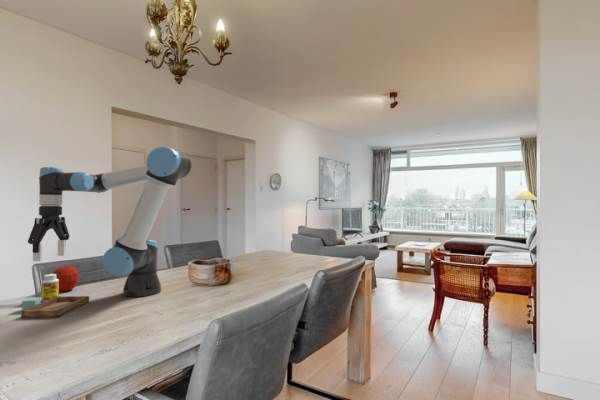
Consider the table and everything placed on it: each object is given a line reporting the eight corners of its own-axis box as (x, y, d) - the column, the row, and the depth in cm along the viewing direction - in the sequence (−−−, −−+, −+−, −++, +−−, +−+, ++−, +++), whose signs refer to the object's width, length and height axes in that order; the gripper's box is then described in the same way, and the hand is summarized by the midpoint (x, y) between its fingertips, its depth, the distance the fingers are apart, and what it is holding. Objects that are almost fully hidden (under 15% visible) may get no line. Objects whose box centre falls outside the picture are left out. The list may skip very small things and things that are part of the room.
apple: (48, 294, 144) (48, 267, 144) (53, 289, 153) (53, 264, 153) (76, 292, 148) (77, 265, 148) (79, 287, 157) (79, 262, 157)
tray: (89, 302, 133) (89, 296, 133) (57, 317, 115) (57, 310, 115) (57, 302, 132) (58, 296, 132) (21, 318, 114) (21, 310, 114)
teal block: (40, 308, 126) (40, 297, 126) (35, 311, 122) (35, 300, 122) (27, 309, 124) (27, 298, 125) (21, 312, 121) (22, 301, 121)
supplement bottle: (40, 303, 132) (40, 276, 132) (41, 299, 136) (42, 274, 136) (58, 300, 135) (58, 275, 135) (58, 297, 139) (59, 272, 140)
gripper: (62, 205, 148) (61, 253, 148) (16, 205, 123) (15, 263, 123) (79, 205, 149) (78, 253, 148) (37, 205, 124) (36, 263, 123)
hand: (49, 258), depth 136 cm, fingers open, 13 cm apart
